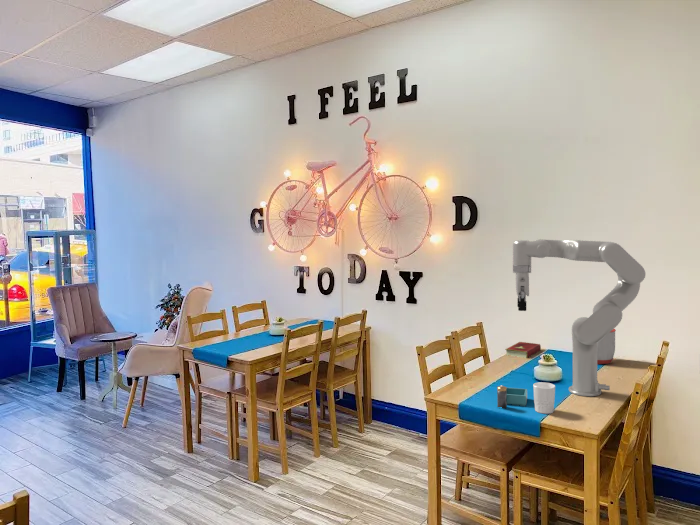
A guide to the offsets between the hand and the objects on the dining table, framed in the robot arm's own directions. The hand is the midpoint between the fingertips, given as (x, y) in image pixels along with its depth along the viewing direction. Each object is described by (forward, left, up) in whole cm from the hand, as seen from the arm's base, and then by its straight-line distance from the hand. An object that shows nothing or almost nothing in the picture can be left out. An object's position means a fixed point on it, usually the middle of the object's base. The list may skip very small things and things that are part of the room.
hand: (521, 308), depth 226 cm
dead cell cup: (+2, +17, -35) cm, 39 cm away
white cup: (-9, +25, -35) cm, 45 cm away
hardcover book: (+4, -66, -36) cm, 75 cm away
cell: (+6, +26, -35) cm, 44 cm away
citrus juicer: (-33, -56, -35) cm, 74 cm away
